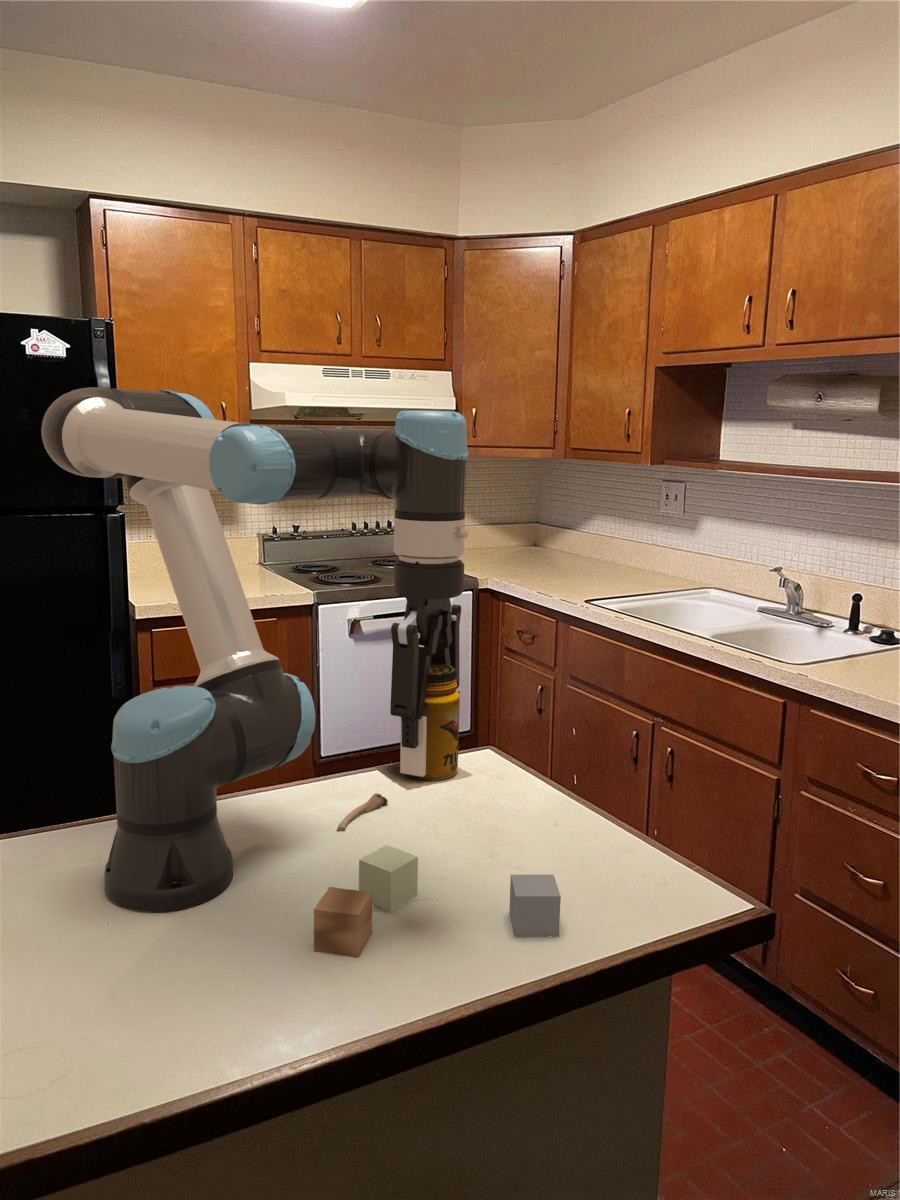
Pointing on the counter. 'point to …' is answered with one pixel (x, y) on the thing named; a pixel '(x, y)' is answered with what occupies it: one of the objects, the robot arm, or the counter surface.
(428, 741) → the condiment
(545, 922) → the slate cube
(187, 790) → the robot arm
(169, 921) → the counter surface
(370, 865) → the sage cube
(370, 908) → the walnut cube
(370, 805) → the bone
